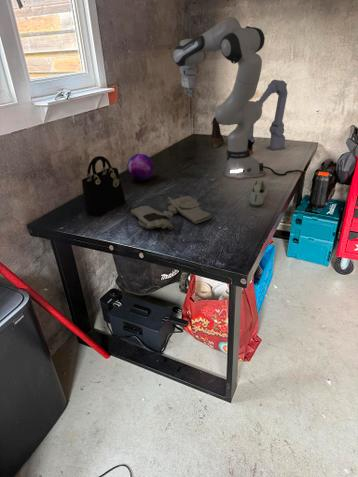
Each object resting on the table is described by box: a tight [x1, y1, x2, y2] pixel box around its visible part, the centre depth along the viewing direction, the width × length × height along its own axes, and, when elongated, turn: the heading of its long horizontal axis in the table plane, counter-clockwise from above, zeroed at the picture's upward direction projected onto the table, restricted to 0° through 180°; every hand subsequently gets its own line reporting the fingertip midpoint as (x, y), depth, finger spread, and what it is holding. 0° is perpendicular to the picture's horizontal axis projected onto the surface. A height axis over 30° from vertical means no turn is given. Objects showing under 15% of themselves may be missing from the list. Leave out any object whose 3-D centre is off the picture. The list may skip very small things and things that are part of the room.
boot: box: [210, 116, 225, 149], centre depth 246 cm, size 9×24×20 cm, turn 168°
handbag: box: [81, 155, 126, 217], centre depth 153 cm, size 21×9×25 cm, turn 148°
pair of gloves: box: [130, 195, 212, 230], centre depth 145 cm, size 30×26×5 cm
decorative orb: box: [126, 153, 155, 182], centre depth 186 cm, size 15×15×15 cm
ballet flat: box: [249, 179, 269, 207], centre depth 158 cm, size 8×24×8 cm, turn 163°
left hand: (188, 96), depth 201 cm, fingers open, 8 cm apart
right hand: (248, 150), depth 228 cm, fingers closed on brick, 4 cm apart
